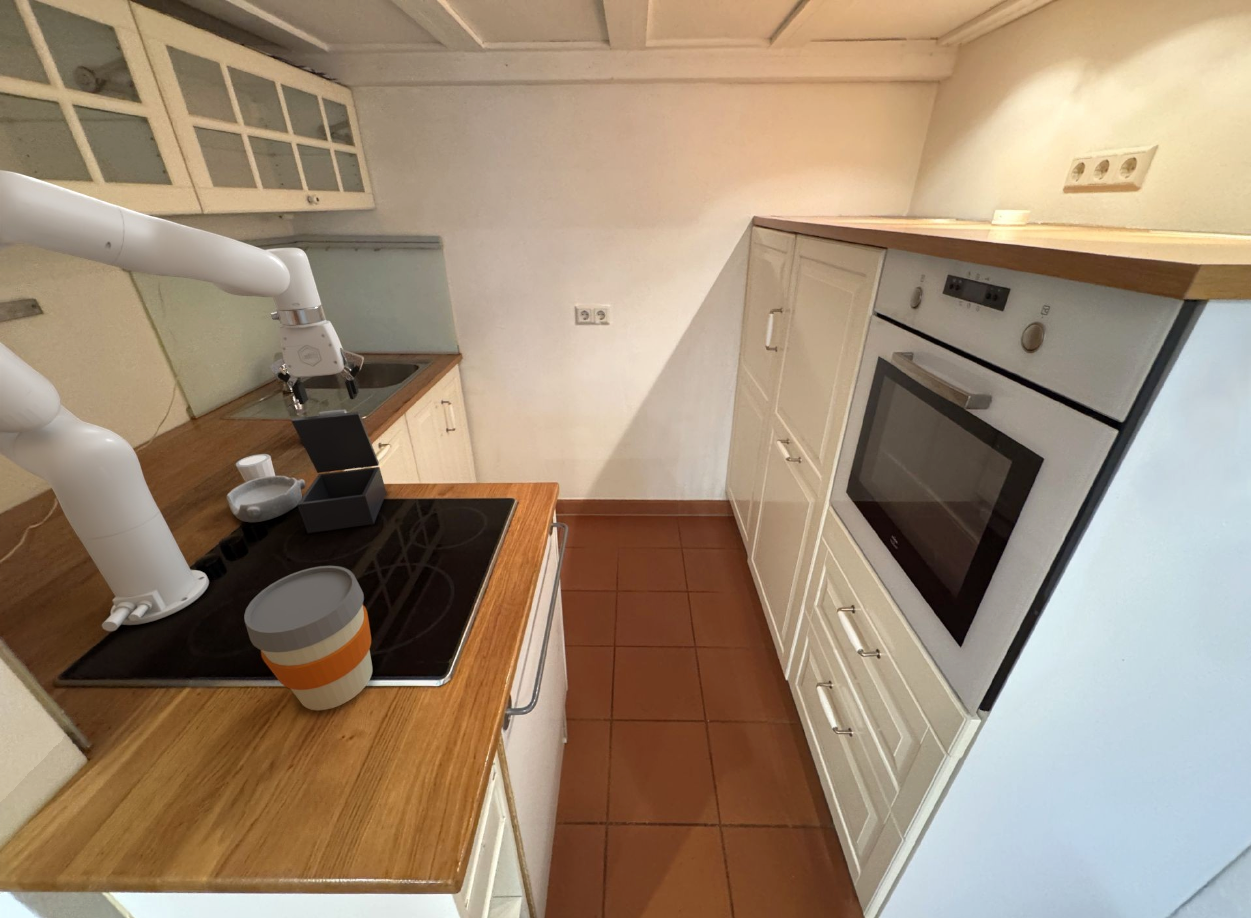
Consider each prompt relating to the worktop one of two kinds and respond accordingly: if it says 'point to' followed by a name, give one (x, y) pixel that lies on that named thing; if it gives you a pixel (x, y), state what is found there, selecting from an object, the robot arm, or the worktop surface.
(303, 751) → the worktop surface
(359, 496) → the dark grey storage bin
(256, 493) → the dish
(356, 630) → the reusable coffee cup
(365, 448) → the lid
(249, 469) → the white fluted cup
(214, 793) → the worktop surface
